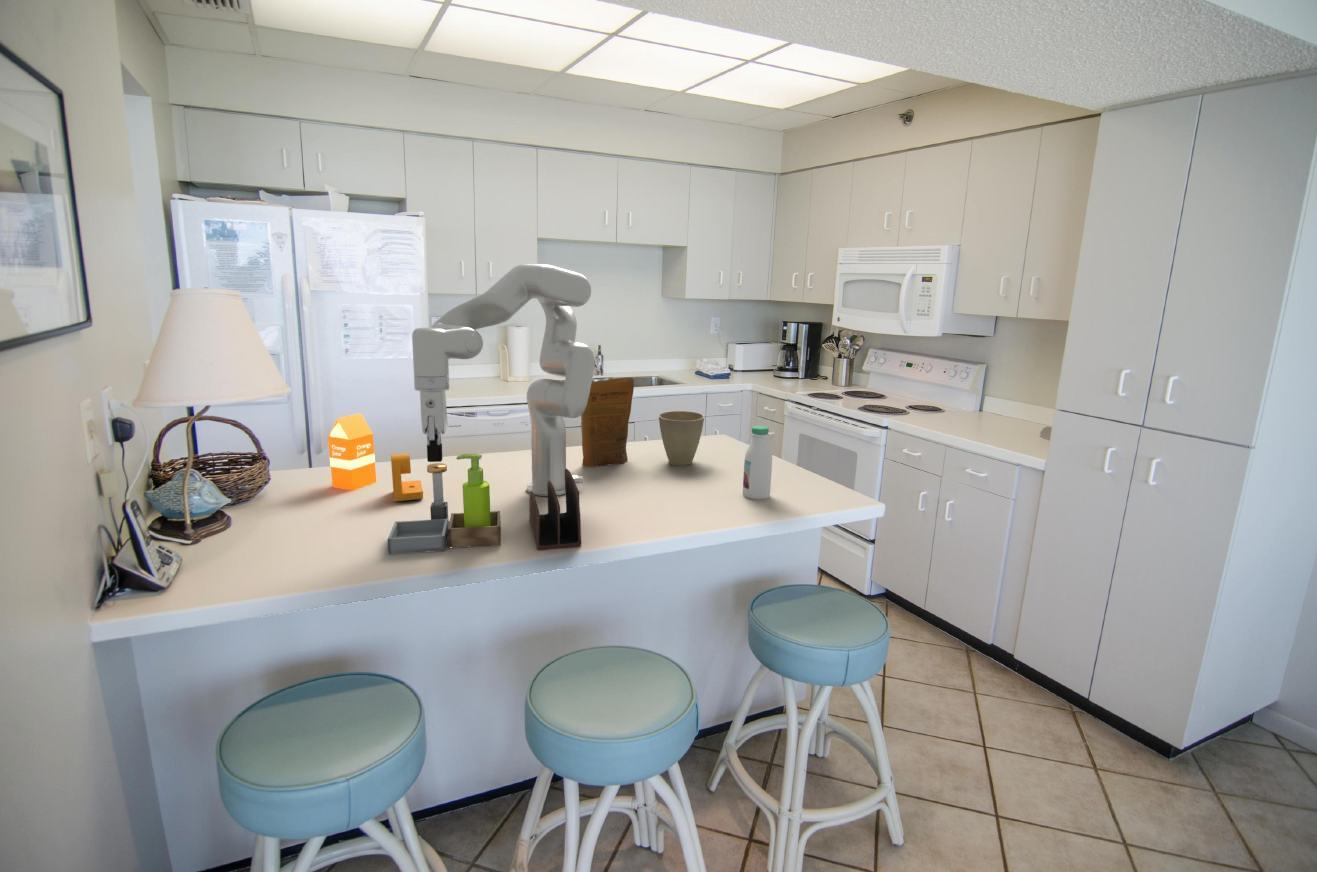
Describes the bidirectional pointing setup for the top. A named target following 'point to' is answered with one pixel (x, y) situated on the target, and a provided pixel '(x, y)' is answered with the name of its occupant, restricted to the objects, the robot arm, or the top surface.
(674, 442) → the plant pot
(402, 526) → the tray
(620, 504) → the top surface
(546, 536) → the letter holder
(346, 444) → the orange juice
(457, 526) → the wooden box
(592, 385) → the pancake mix bag
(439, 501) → the plunger
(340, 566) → the top surface
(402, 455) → the bracket
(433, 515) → the plunger collar
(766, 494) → the milk bottle
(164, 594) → the top surface
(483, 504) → the soap dispenser
